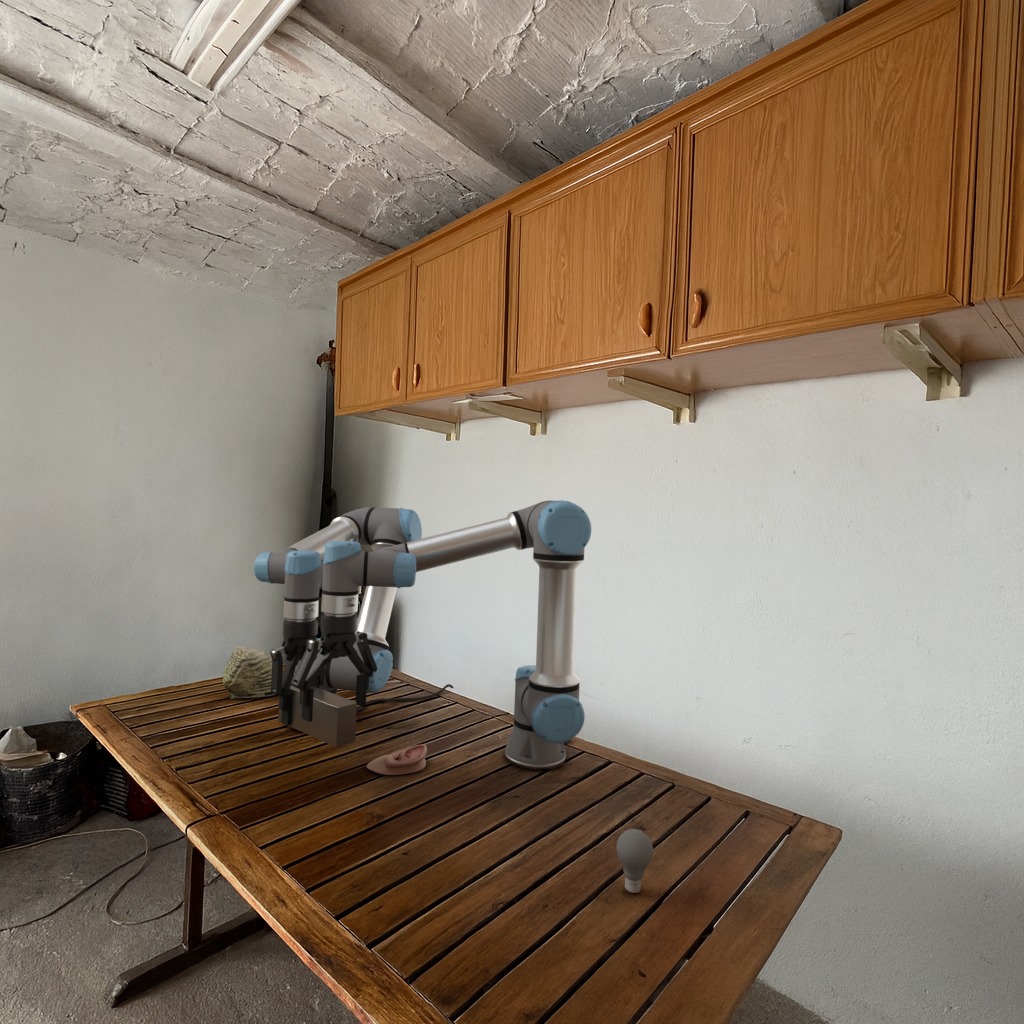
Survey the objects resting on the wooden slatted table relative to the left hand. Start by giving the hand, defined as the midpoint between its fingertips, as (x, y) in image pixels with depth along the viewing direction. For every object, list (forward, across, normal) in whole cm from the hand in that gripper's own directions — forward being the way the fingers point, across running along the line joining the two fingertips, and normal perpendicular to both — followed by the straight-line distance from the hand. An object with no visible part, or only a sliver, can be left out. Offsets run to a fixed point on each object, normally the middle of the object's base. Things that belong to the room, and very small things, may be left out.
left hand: (297, 720), depth 145 cm
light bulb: (+12, +13, -79) cm, 81 cm away
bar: (+1, 0, -7) cm, 7 cm away
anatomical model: (+12, +18, -14) cm, 26 cm away
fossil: (+12, +22, +58) cm, 63 cm away
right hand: (-5, 0, -14) cm, 15 cm away
